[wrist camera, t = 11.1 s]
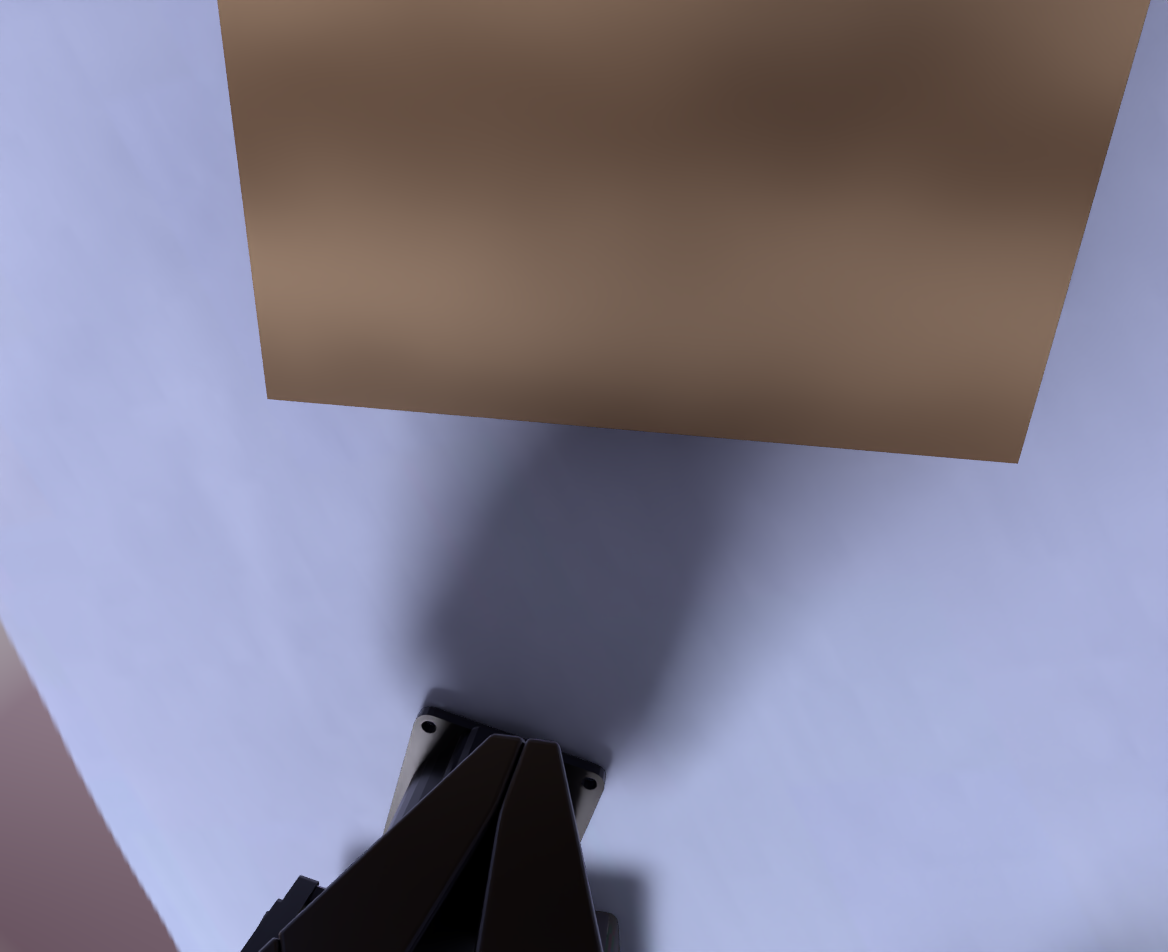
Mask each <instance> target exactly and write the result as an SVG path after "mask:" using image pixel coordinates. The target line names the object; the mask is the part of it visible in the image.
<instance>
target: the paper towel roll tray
mask: <svg viewBox="0 0 1168 952" xmlns="http://www.w3.org/2000/svg"><path fill="white" fill-rule="evenodd" d="M217 1H218V9H219V17H220V25H221V33H222V41H223V49H224V57H225V65H226V73H227V81H228V89H229V97H230V105H231V113H232V121H233V129H234V137H235V145H236V152H237V160H238V168H239V176H240V184H241V192H242V200H243V208H244V216H245V224H246V232H247V240H248V248H249V256H250V264H251V272H252V280H253V288H254V296H255V304H256V311H257V319H258V327H259V335H260V343H261V351H262V359H263V367H264V375H265V383H266V391H267V399H274V400H286V401H297V402H309V403H320V404H332V405H344V406H355V407H367V408H378V409H390V410H402V411H413V412H425V413H436V414H448V415H460V416H471V417H483V418H495V419H506V420H518V421H529V422H541V423H553V424H564V425H576V426H587V427H599V428H611V429H622V430H634V431H645V432H657V433H669V434H680V435H692V436H703V437H715V438H727V439H738V440H750V441H761V442H773V443H785V444H796V445H808V446H819V447H831V448H843V449H854V450H866V451H878V452H889V453H901V454H912V455H924V456H936V457H947V458H959V459H970V460H982V461H994V462H1005V463H1017V464H1018V461H1019V458H1020V454H1021V451H1022V447H1023V444H1024V440H1025V437H1026V433H1027V430H1028V426H1029V423H1030V419H1031V416H1032V412H1033V409H1034V405H1035V402H1036V398H1037V395H1038V391H1039V388H1040V384H1041V381H1042V377H1043V374H1044V370H1045V367H1046V363H1047V360H1048V356H1049V353H1050V349H1051V346H1052V342H1053V339H1054V335H1055V332H1056V328H1057V325H1058V321H1059V318H1060V314H1061V311H1062V307H1063V304H1064V300H1065V297H1066V293H1067V290H1068V287H1069V283H1070V280H1071V276H1072V273H1073V269H1074V266H1075V262H1076V259H1077V255H1078V252H1079V248H1080V245H1081V241H1082V238H1083V234H1084V231H1085V227H1086V224H1087V220H1088V217H1089V213H1090V210H1091V206H1092V203H1093V199H1094V196H1095V192H1096V189H1097V185H1098V182H1099V178H1100V175H1101V171H1102V168H1103V164H1104V161H1105V157H1106V154H1107V150H1108V147H1109V143H1110V140H1111V136H1112V133H1113V129H1114V126H1115V122H1116V119H1117V115H1118V112H1119V108H1120V105H1121V101H1122V98H1123V94H1124V91H1125V87H1126V84H1127V80H1128V77H1129V73H1130V70H1131V66H1132V63H1133V59H1134V56H1135V52H1136V49H1137V45H1138V42H1139V38H1140V35H1141V31H1142V28H1143V24H1144V21H1145V17H1146V14H1147V10H1148V7H1149V3H1150V0H217Z"/></svg>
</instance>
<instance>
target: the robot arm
mask: <svg viewBox="0 0 1168 952" xmlns="http://www.w3.org/2000/svg"><path fill="white" fill-rule="evenodd" d="M427 721H431V722H433V723H434V724H435V725H431V724H429V723H428V722H427ZM586 778H592V779H594V780H593V781H591V780H587V779H586ZM605 779H606V774H605V771H604V770H603V768H602V767H601V766H599V765H597V764H595V763H592V762H589V761H586V760H583V759H581V758H578V757H575V756H572V755H569V754H566V753H564V752H561V749H560V746H559V744H558V743H557V742H555V741H548V740H541V739H534V738H530V739H528V740H527V739H524V738H522V737H519V736H515V735H513V734H510V733H507V732H504V731H501V730H498V729H496V728H493V727H490V726H487V725H484V724H481V723H479V722H476V721H473V720H470V719H467V718H464V717H461V716H459V715H456V714H453V713H450V712H447V711H444V710H442V709H439V708H436V707H425V708H423V709H422V710H421V711H420V712H419V714H418V716H417V718H416V720H415V722H414V725H413V729H412V732H411V736H410V740H409V743H408V747H407V750H406V754H405V758H404V761H403V765H402V768H401V772H400V775H399V779H398V783H397V786H396V790H395V793H394V797H393V800H392V804H391V808H390V811H389V815H388V818H387V822H386V825H385V829H384V833H383V836H382V837H381V838H380V839H379V840H377V841H376V842H375V843H374V844H373V845H372V846H371V847H370V848H369V849H368V850H367V851H366V852H365V853H364V854H362V855H361V856H360V857H359V858H358V859H357V860H356V861H355V862H354V863H353V864H352V865H351V866H350V867H349V868H347V869H346V870H345V871H344V872H343V873H342V874H341V875H340V876H339V877H338V878H337V879H336V880H335V881H334V882H332V883H331V884H330V885H329V886H328V887H327V888H324V887H321V886H319V882H318V881H316V880H313V879H310V878H307V877H304V876H302V875H300V876H299V877H298V879H297V880H296V882H295V883H294V884H293V886H292V887H291V889H290V890H289V892H288V893H287V894H286V896H285V897H284V899H283V900H281V899H278V900H277V901H276V902H275V904H274V905H273V906H272V908H271V909H270V911H267V912H266V914H265V915H264V917H263V919H262V920H261V922H260V924H259V926H258V927H257V929H256V930H255V932H254V933H253V935H252V936H251V938H250V939H249V940H248V942H247V943H246V945H245V946H244V947H243V949H242V950H241V952H603V948H602V943H601V938H600V934H599V929H598V924H597V919H596V915H595V910H594V905H593V900H592V896H591V891H590V886H589V881H588V877H587V872H586V867H585V862H584V858H583V853H582V848H581V843H580V842H581V840H582V838H583V835H584V833H585V831H586V828H587V826H588V824H589V822H590V819H591V817H592V815H593V813H594V810H595V808H596V806H597V803H598V801H599V799H600V797H601V794H602V792H603V790H604V785H605Z"/></svg>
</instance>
